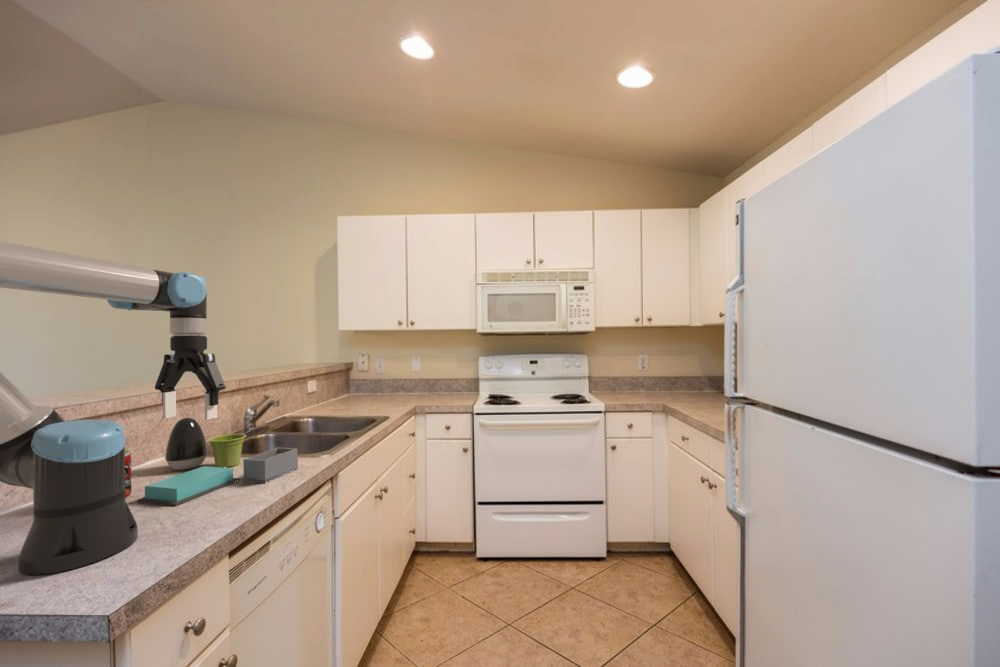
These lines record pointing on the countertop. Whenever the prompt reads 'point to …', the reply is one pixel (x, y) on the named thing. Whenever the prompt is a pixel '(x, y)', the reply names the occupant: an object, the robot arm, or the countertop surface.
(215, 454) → the plant pot
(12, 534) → the countertop surface
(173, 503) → the mat
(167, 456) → the black egg-shaped piece
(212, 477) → the lid
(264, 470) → the storage box
